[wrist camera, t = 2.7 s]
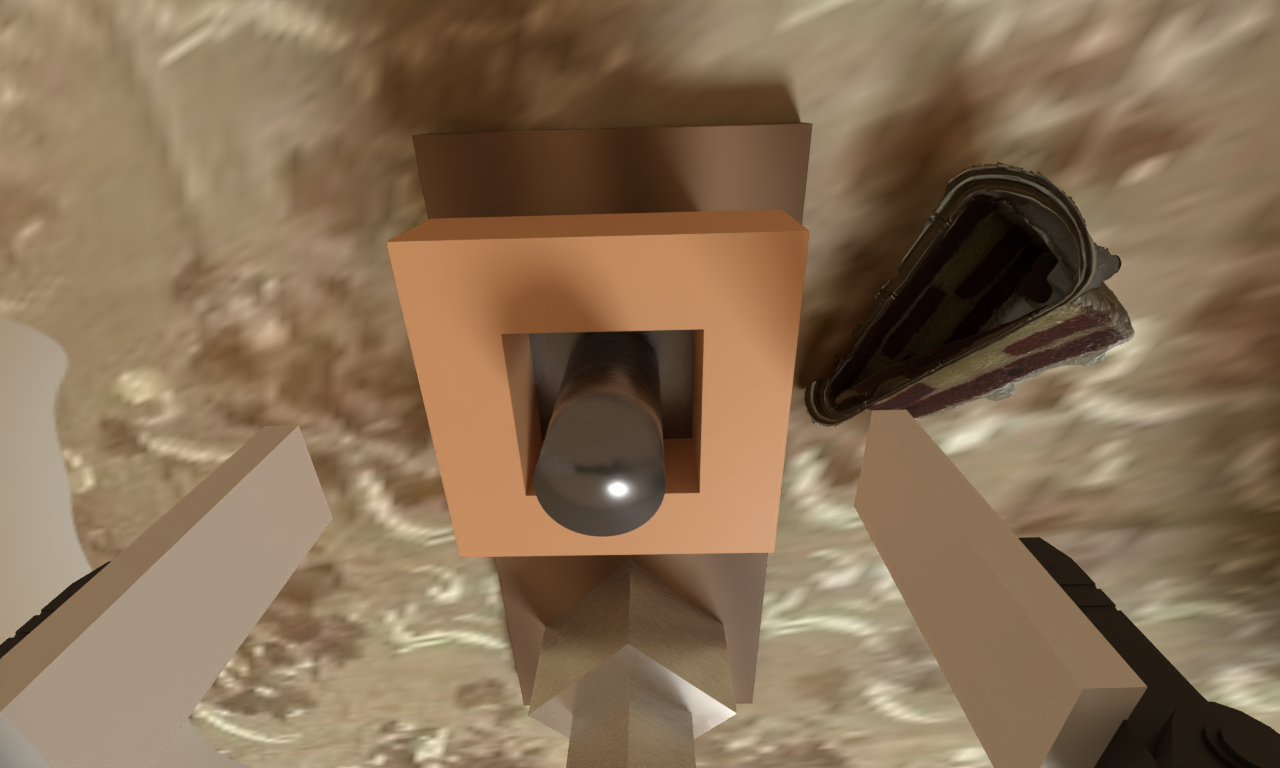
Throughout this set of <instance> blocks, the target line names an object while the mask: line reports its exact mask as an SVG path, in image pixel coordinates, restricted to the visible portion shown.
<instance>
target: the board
mask: <svg viewBox="0 0 1280 768" xmlns="http://www.w3.org/2000/svg"><path fill="white" fill-rule="evenodd" d="M811 132H812V124H811V123H768V124H734V125H701V126H668V127H634V128H601V129H567V130H534V131H501V132H467V133H434V134H421V135H413V136H412V138H413V143H414V148H415V153H416V158H417V163H418V168H419V173H420V178H421V183H422V188H423V194H424V199H425V204H426V209H427V214H428V219H439V218H476V217H513V216H551V215H588V214H625V213H662V212H700V211H737V210H774V209H781V210H783V211H784V212H785V213H787V214H788V215H789V216H791V217H792V218H793V219H795V220H796V221H797V222H798V223H800V224H801V225H802V219H803V209H804V200H805V190H806V180H807V171H808V161H809V151H810V142H811ZM767 556H768V553H710V554H641V555H572V556H503V557H495V560H496V565H497V570H498V575H499V581H500V586H501V591H502V596H503V601H504V606H505V611H506V616H507V621H508V626H509V631H510V637H511V642H512V647H513V652H514V657H515V662H516V667H517V672H518V677H519V682H520V687H521V693H522V698H523V703H524V705H530V703H531V698H532V693H533V687H534V682H535V677H536V672H537V667H538V661H539V656H540V651H541V646H542V640H543V635H544V630H545V626H546V625H548V624H549V623H550V622H551V621H553V620H554V619H555V618H556V617H558V616H559V615H560V614H562V613H563V612H564V611H565V610H567V609H568V608H569V607H570V606H572V605H573V604H574V603H575V602H577V601H578V600H579V599H581V598H582V597H583V596H584V595H586V594H587V593H588V592H589V591H591V590H592V589H593V588H594V587H596V586H597V585H598V584H599V583H601V582H602V581H603V580H605V579H606V578H607V577H608V576H610V575H611V574H612V573H613V572H615V571H616V570H617V569H618V568H620V567H621V566H622V565H624V564H625V563H626V562H627V561H629V560H630V559H632V560H633V561H635V562H636V563H638V564H639V565H640V566H642V567H643V568H645V569H646V570H647V571H649V572H650V573H652V574H653V575H655V576H656V577H657V578H659V579H660V580H662V581H663V582H664V583H666V584H667V585H669V586H670V587H671V588H673V589H674V590H676V591H677V592H679V593H680V594H681V595H683V596H684V597H686V598H687V599H688V600H690V601H691V602H693V603H694V604H695V605H697V606H698V607H700V608H701V609H702V610H704V611H705V612H707V613H708V614H710V615H711V616H712V617H714V618H715V619H717V620H718V621H719V622H721V623H722V624H723V625H724V632H725V639H726V645H727V652H728V659H729V665H730V672H731V679H732V685H733V692H734V698H735V704H736V703H752V701H753V691H754V682H755V672H756V662H757V653H758V643H759V633H760V624H761V614H762V605H763V595H764V585H765V576H766V566H767Z"/></svg>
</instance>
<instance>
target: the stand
mask: <svg viewBox="0 0 1280 768" xmlns="http://www.w3.org/2000/svg"><path fill="white" fill-rule="evenodd" d="M529 340H530V348H531V356H532V364H533V372H534V379H535V387H536V395H537V403H538V411H539V419H540V426H541V434H542V441H544V443H543V447H542V450H541V453H540V456H539V460H538V463H537V466H536V470H535V474H534V489H535V493H536V496H537V499H538V501H539V503H540V505H541V507H542V508H543V509H544V511H545V512H546V513H547V514H548V515H549V516H550V517H551V518H552V519H553V520H554V521H556V522H557V523H558V524H560V525H561V526H563V527H565V528H567V529H569V530H571V531H574V532H577V533H579V534H584V535H588V536H597V537H607V536H616V535H621V534H624V533H628V532H630V531H633V530H635V529H637V528H639V527H640V526H642V525H643V524H645V523H646V522H648V521H649V520H650V519H651V518H652V517H653V516H654V514H655V513H656V512H657V511H658V509H659V507H660V506H661V503H662V501H663V498H664V494H665V468H664V449H663V439H690V438H692V411H693V356H694V330H653V331H609V332H564V333H529Z"/></svg>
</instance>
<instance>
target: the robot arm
mask: <svg viewBox="0 0 1280 768" xmlns="http://www.w3.org/2000/svg"><path fill="white" fill-rule="evenodd" d="M854 507H855V508H856V510H857V512H858V514H859V516H860V518H861V520H862V522H863V523H864V525H865V527H866V529H867V531H868V533H869V535H870V537H871V538H872V540H873V542H874V544H875V546H876V548H877V550H878V551H879V553H880V555H881V557H882V559H883V561H884V563H885V565H886V566H887V568H888V570H889V572H890V574H891V576H892V578H893V579H894V581H895V583H896V585H897V587H898V589H899V591H900V593H901V594H902V596H903V598H904V600H905V602H906V604H907V606H908V608H909V609H910V611H911V613H912V615H913V617H914V619H915V621H916V622H917V624H918V626H919V628H920V630H921V632H922V634H923V636H924V637H925V639H926V641H927V643H928V645H929V647H930V649H931V651H932V652H933V654H934V656H935V658H936V660H937V662H938V664H939V665H940V667H941V669H942V671H943V673H944V675H945V677H946V679H947V680H948V682H949V684H950V686H951V688H952V690H953V692H954V694H955V695H956V697H957V699H958V701H959V703H960V705H961V707H962V708H963V710H964V712H965V714H966V716H967V718H968V720H969V722H970V723H971V725H972V727H973V729H974V731H975V733H976V735H977V737H978V738H979V740H980V742H981V744H982V746H983V748H984V750H985V751H986V753H987V755H988V757H989V759H990V761H991V763H992V765H993V766H994V768H1280V734H1278V733H1277V732H1276V731H1275V730H1273V729H1272V728H1271V727H1269V726H1267V725H1265V724H1264V723H1262V722H1260V721H1258V720H1256V719H1254V718H1253V717H1251V716H1249V715H1247V714H1245V713H1243V712H1242V711H1239V710H1236V709H1233V708H1230V707H1227V706H1224V705H1221V704H1218V703H1215V702H1208V701H1207V700H1206V699H1205V698H1204V697H1203V696H1202V695H1201V694H1199V693H1198V691H1197V690H1196V689H1195V688H1194V687H1193V686H1192V685H1191V684H1190V683H1189V682H1188V681H1187V680H1186V679H1185V678H1184V677H1183V676H1182V675H1181V674H1180V672H1179V671H1178V670H1177V669H1176V668H1175V667H1174V666H1173V665H1172V664H1171V663H1170V662H1169V661H1168V660H1167V659H1166V658H1165V657H1164V656H1163V655H1162V653H1161V652H1160V651H1159V650H1158V649H1157V648H1156V647H1155V646H1154V645H1153V644H1152V643H1151V642H1150V641H1149V640H1148V639H1147V638H1146V637H1145V636H1144V634H1143V633H1142V632H1141V631H1140V630H1139V629H1138V628H1137V627H1136V626H1135V625H1134V624H1133V623H1132V622H1131V621H1130V620H1129V619H1128V618H1127V617H1126V615H1125V614H1124V613H1123V612H1122V611H1117V609H1116V607H1115V606H1116V605H1115V604H1114V603H1113V602H1112V601H1111V600H1110V599H1109V598H1108V596H1107V595H1106V594H1105V593H1104V592H1103V591H1102V590H1101V589H1097V588H1096V586H1095V583H1094V582H1093V581H1092V580H1091V579H1090V577H1089V576H1088V575H1087V574H1086V573H1085V572H1084V571H1083V570H1082V569H1081V568H1080V567H1079V566H1078V565H1077V564H1076V563H1075V562H1074V561H1073V560H1072V559H1071V558H1070V557H1068V556H1067V555H1065V554H1064V553H1062V552H1061V551H1059V550H1058V549H1056V548H1055V547H1053V546H1052V545H1050V544H1049V543H1047V542H1046V541H1044V540H1043V539H1041V538H1040V537H1035V538H1017V536H1016V535H1015V534H1014V533H1013V532H1012V531H1011V529H1010V528H1009V527H1008V526H1007V525H1006V524H1005V523H1004V521H1003V520H1002V519H1001V518H1000V517H999V516H998V515H997V513H996V512H995V511H994V510H993V509H992V508H991V506H990V505H989V504H988V503H987V502H986V501H985V500H984V498H983V497H982V496H981V495H980V494H979V493H978V492H977V490H976V489H975V488H974V487H973V486H972V485H971V483H970V482H969V481H968V480H967V479H966V478H965V477H964V475H963V474H962V473H961V472H960V471H959V470H958V469H957V467H956V466H955V465H954V464H953V463H952V462H951V460H950V459H949V458H948V457H947V456H946V455H945V454H944V452H943V451H942V450H941V449H940V448H939V447H938V446H937V444H936V443H935V442H934V441H933V440H932V439H931V437H930V436H929V435H928V434H927V433H926V432H925V431H924V429H923V428H922V427H921V426H920V425H919V424H918V423H917V421H916V420H915V419H914V418H913V417H912V416H911V414H910V413H909V412H908V411H907V410H873V411H872V416H871V421H870V426H869V431H868V436H867V441H866V447H865V452H864V457H863V462H862V467H861V473H860V478H859V483H858V488H857V493H856V498H855V504H854ZM332 519H333V518H332V515H331V512H330V510H329V507H328V504H327V501H326V499H325V496H324V493H323V491H322V488H321V485H320V482H319V480H318V477H317V474H316V472H315V469H314V466H313V463H312V461H311V458H310V455H309V452H308V450H307V447H306V444H305V442H304V439H303V436H302V433H301V431H300V428H299V425H297V426H265V427H264V428H263V429H262V430H261V431H260V432H258V433H257V434H256V435H255V436H254V437H253V438H252V439H250V440H249V441H248V442H247V443H246V444H245V445H244V446H242V447H241V448H240V449H239V450H238V451H237V452H236V453H234V454H233V455H232V456H231V457H230V458H229V459H228V460H226V461H225V462H224V463H223V464H222V465H221V466H220V467H218V468H217V469H216V470H215V471H214V472H213V473H212V474H211V475H209V476H208V477H207V478H206V479H205V480H204V481H203V482H201V483H200V484H199V485H198V486H197V487H196V488H195V489H193V490H192V491H191V492H190V493H189V494H188V495H187V496H185V497H184V498H183V499H182V500H181V501H180V502H179V503H177V504H176V505H175V506H174V507H173V508H172V509H171V510H169V511H168V512H167V513H166V514H165V515H164V516H163V517H161V518H160V519H159V520H158V521H157V522H156V523H155V524H154V525H152V526H151V527H150V528H149V529H148V530H147V531H146V532H144V533H143V534H142V535H141V536H140V537H139V538H138V539H136V540H135V541H134V542H133V543H132V544H131V545H130V546H128V547H127V548H126V549H125V550H124V551H123V552H122V553H120V554H119V555H118V556H117V557H116V558H115V559H114V560H112V561H109V562H107V563H106V564H104V565H102V566H101V567H99V568H97V569H96V570H94V571H92V572H91V573H89V574H88V575H86V576H84V577H82V578H81V579H79V580H78V581H76V582H74V583H72V584H71V585H70V586H69V587H68V588H66V589H65V590H64V591H63V592H62V593H61V594H59V595H58V596H57V597H56V598H55V599H54V600H52V601H51V602H50V603H49V604H48V605H47V606H45V607H44V608H43V609H42V610H41V614H40V615H35V616H34V617H33V618H31V619H30V620H29V621H28V622H27V623H25V625H23V626H22V627H21V628H20V629H19V630H17V631H16V635H15V636H14V638H8V639H7V640H6V641H4V642H3V643H2V644H1V645H0V768H152V766H153V765H154V764H155V762H156V761H157V760H158V758H159V757H160V755H161V754H162V753H163V751H164V750H165V748H166V747H167V746H168V745H169V743H170V742H171V740H172V739H173V738H174V736H175V735H176V733H177V732H178V731H179V729H180V728H181V727H182V725H183V724H184V723H185V721H186V720H187V718H188V717H189V716H190V714H191V713H192V712H193V710H194V709H195V707H196V706H197V705H198V703H199V702H200V701H201V699H202V698H203V696H204V695H205V694H206V692H207V691H208V690H209V688H210V687H211V685H212V684H213V683H214V681H215V680H216V679H217V677H218V676H219V674H220V673H221V672H222V670H223V669H224V668H225V666H226V665H227V663H228V662H229V661H230V659H231V658H232V657H233V655H234V654H235V652H236V651H237V650H238V648H239V647H240V646H241V644H242V643H243V641H244V640H245V639H246V637H247V636H248V635H249V633H250V632H251V630H252V629H253V628H254V626H255V625H256V624H257V622H258V621H259V619H260V618H261V617H262V615H263V614H264V613H265V611H266V610H267V608H268V607H269V606H270V604H271V603H272V602H273V600H274V599H275V597H276V596H277V595H278V593H279V592H280V591H281V589H282V588H283V586H284V585H285V584H286V582H287V581H288V580H289V578H290V577H291V575H292V574H293V573H294V571H295V570H296V569H297V567H298V566H299V564H300V563H301V562H302V560H303V559H304V558H305V556H306V555H307V553H308V552H309V551H310V549H311V548H312V546H313V545H314V544H315V542H316V541H317V540H318V538H319V537H320V535H321V534H322V533H323V531H324V530H325V529H326V527H327V526H328V524H329V523H330V522H331V520H332Z"/></svg>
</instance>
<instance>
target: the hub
mask: <svg viewBox="0 0 1280 768" xmlns="http://www.w3.org/2000/svg"><path fill="white" fill-rule="evenodd" d="M735 714H737V712H736V705H735V698H734V692H733V685H732V679H731V672H730V665H729V659H728V652H727V645H726V639H725V632H724V625H723V624H722V623H721V622H719V621H718V620H717V619H715V618H714V617H712V616H711V615H710V614H708V613H707V612H705V611H704V610H702V609H701V608H700V607H698V606H697V605H695V604H694V603H693V602H691V601H690V600H688V599H687V598H686V597H684V596H683V595H681V594H680V593H679V592H677V591H676V590H674V589H673V588H671V587H670V586H669V585H667V584H666V583H664V582H663V581H662V580H660V579H659V578H657V577H656V576H655V575H653V574H652V573H650V572H649V571H647V570H646V569H645V568H643V567H642V566H640V565H639V564H638V563H636V562H635V561H633V560H632V559H630V560H629V561H627V562H626V563H625V564H624V565H622V566H621V567H620V568H618V569H617V570H616V571H615V572H613V573H612V574H611V575H610V576H608V577H607V578H606V579H605V580H603V581H602V582H601V583H599V584H598V585H597V586H596V587H594V588H593V589H592V590H591V591H589V592H588V593H587V594H586V595H584V596H583V597H582V598H581V599H579V600H578V601H577V602H575V603H574V604H573V605H572V606H570V607H569V608H568V609H567V610H565V611H564V612H563V613H562V614H560V615H559V616H558V617H556V618H555V619H554V620H553V621H551V622H550V623H549V624H548V625H546V626H545V630H544V635H543V640H542V646H541V651H540V656H539V661H538V667H537V672H536V677H535V682H534V687H533V693H532V698H531V703H530V708H529V713H528V716H530V717H532V718H534V719H536V720H538V721H539V722H541V723H543V724H545V725H547V726H549V727H550V728H552V729H554V730H556V731H558V732H560V733H561V734H563V735H565V736H567V737H569V738H570V741H569V749H568V758H567V766H566V768H696V762H695V749H694V739H695V738H696V737H698V736H700V735H702V734H703V733H705V732H707V731H708V730H710V729H712V728H713V727H715V726H717V725H718V724H720V723H722V722H723V721H725V720H727V719H728V718H730V717H732V716H733V715H735Z"/></svg>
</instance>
